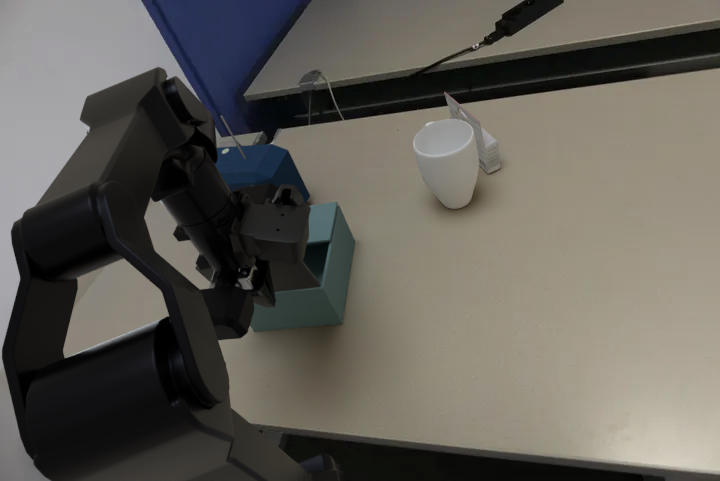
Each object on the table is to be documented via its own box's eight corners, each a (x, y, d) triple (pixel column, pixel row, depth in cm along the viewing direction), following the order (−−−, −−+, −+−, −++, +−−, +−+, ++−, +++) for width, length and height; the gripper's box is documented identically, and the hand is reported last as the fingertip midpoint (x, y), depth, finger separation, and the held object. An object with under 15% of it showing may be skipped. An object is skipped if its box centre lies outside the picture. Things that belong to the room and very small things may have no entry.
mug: (494, 205, 75) (484, 140, 67) (439, 226, 75) (422, 164, 67) (464, 160, 83) (451, 98, 76) (415, 179, 84) (397, 120, 76)
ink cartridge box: (467, 135, 88) (457, 84, 81) (502, 168, 79) (494, 114, 73) (453, 142, 88) (443, 91, 81) (487, 175, 79) (478, 122, 73)
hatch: (321, 284, 63) (320, 287, 62) (227, 294, 66) (226, 297, 66) (296, 252, 57) (296, 255, 57) (195, 265, 61) (194, 268, 60)
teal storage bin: (342, 324, 68) (320, 284, 62) (254, 331, 72) (226, 295, 66) (355, 240, 78) (337, 200, 73) (277, 251, 82) (254, 213, 76)
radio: (316, 196, 88) (267, 93, 75) (297, 234, 83) (240, 130, 70) (216, 198, 97) (156, 106, 84) (193, 232, 92) (125, 140, 78)
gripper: (256, 273, 40) (326, 376, 50) (301, 128, 52) (349, 235, 63) (134, 287, 43) (223, 382, 53) (204, 147, 55) (265, 246, 66)
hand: (271, 304), depth 59 cm, fingers closed
